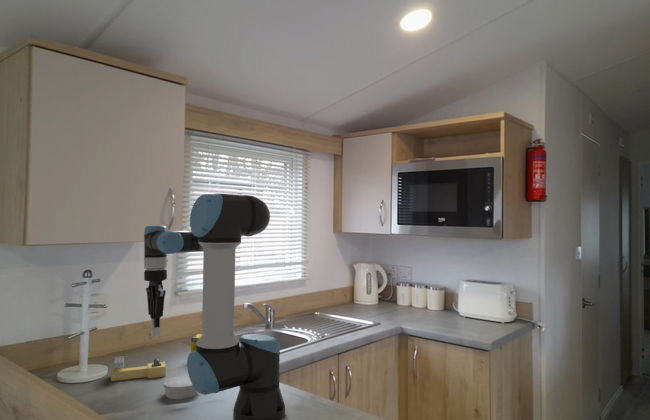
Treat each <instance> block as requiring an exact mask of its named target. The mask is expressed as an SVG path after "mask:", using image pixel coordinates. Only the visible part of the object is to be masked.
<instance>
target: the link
mask: <svg viewBox="0 0 650 420" xmlns="http://www.w3.org/2000/svg"><path fill="white" fill-rule="evenodd" d="M166 368H167V365H166V362H165V361H160V364H159V366H156V367H154V362H151V363H149V362H148V363H147V365H143V366H135V367H127V368H125V367H124V369H115V368H114V369H110V382H115V381H116V382H117V381H124V380H132V379H141V378H147V379H153V378H160V377H166V375H167V373H166V372H167V370H166Z"/></svg>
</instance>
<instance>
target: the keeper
mask: <svg viewBox="0 0 650 420" xmlns="http://www.w3.org/2000/svg"><path fill="white" fill-rule="evenodd" d="M124 368H125V356H124V355H121V356H115V357H114V362H113V369H114V370H115V369H124Z"/></svg>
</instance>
